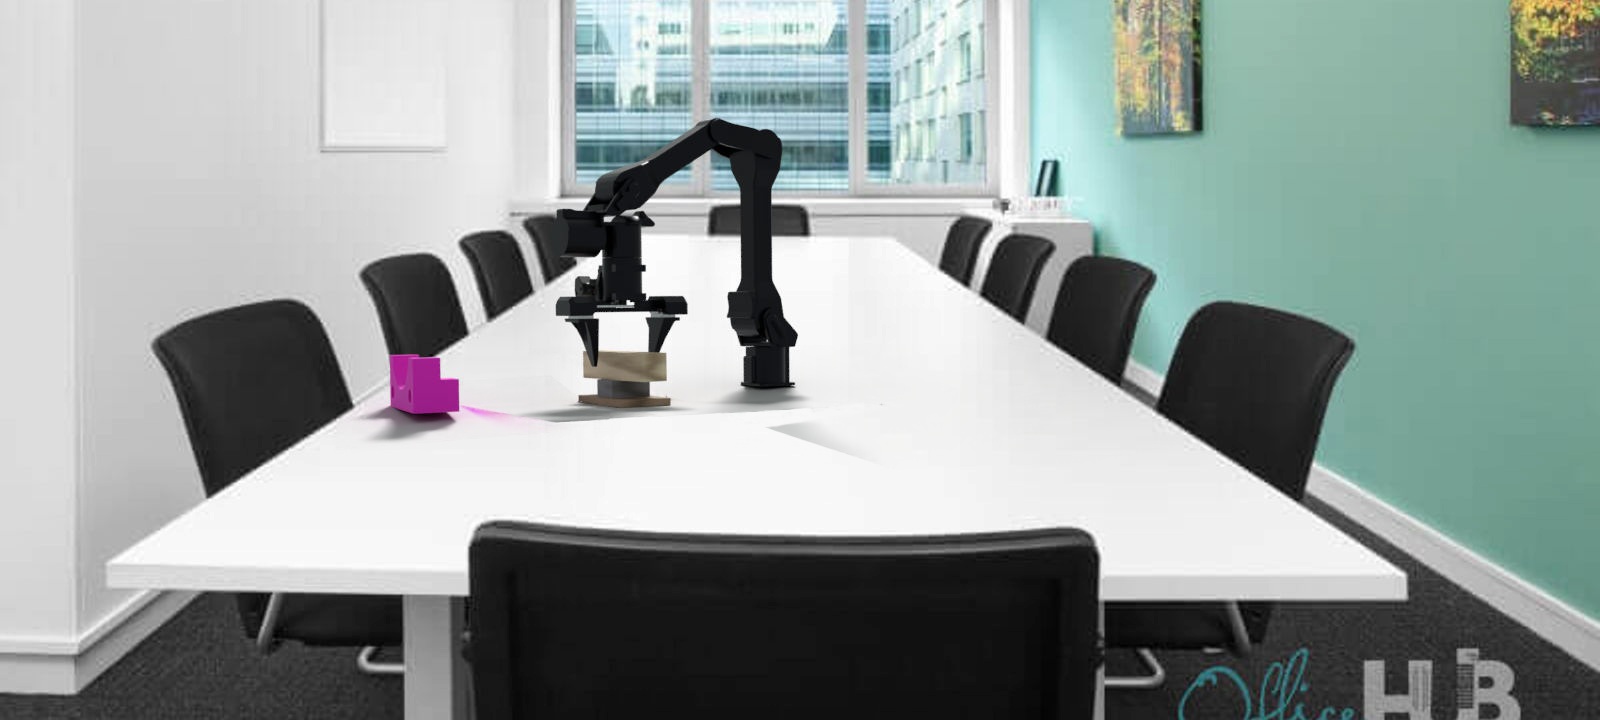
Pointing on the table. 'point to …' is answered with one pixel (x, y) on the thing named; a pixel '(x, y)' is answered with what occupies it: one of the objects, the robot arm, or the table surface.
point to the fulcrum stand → (623, 394)
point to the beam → (627, 366)
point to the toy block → (421, 385)
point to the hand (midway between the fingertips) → (623, 365)
